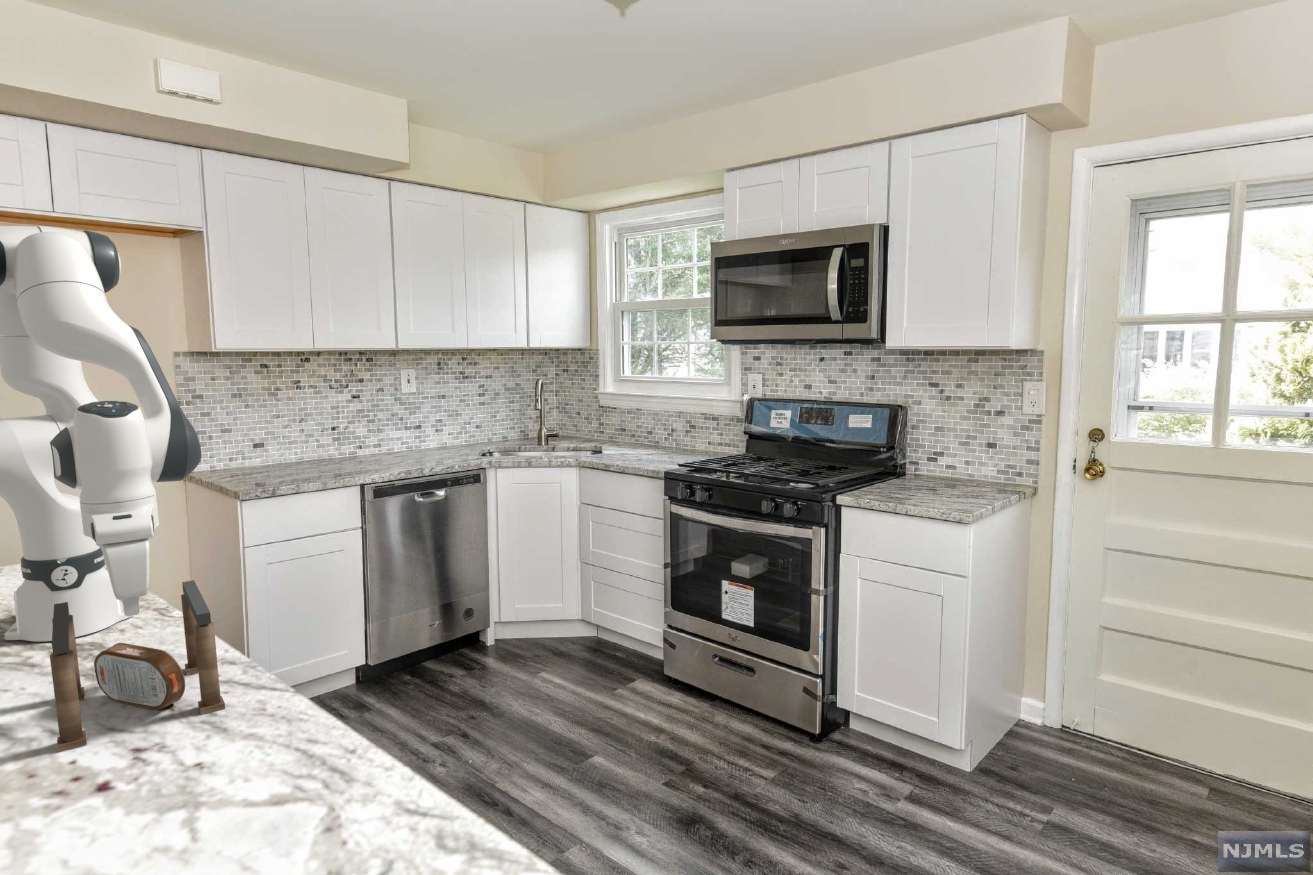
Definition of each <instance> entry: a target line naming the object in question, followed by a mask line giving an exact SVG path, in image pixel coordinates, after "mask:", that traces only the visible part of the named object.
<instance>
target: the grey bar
mask: <svg viewBox="0 0 1313 875" xmlns="http://www.w3.org/2000/svg"><path fill="white" fill-rule="evenodd" d="M51 649H52V650H51V651H52V653H53V655H57V654H62V653H67V652H69V608H68V602H64V603H59V604H54V613H53V630H52V641H51Z"/></svg>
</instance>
